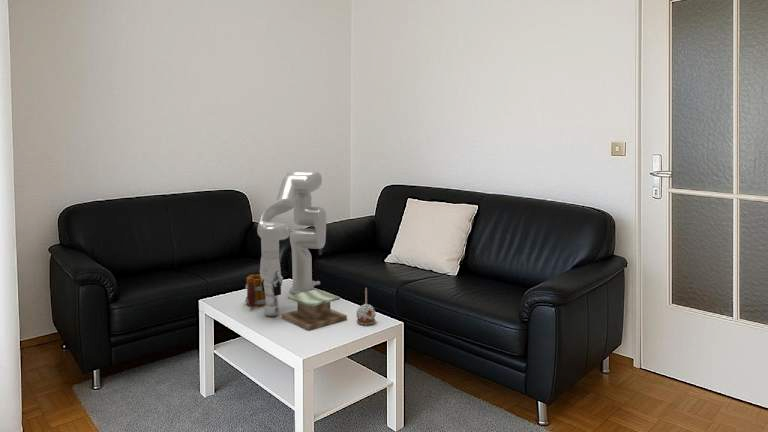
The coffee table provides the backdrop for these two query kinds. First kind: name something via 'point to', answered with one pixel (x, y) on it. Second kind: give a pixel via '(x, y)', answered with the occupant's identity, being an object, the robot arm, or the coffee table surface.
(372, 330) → the coffee table surface
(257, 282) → the mug
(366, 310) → the decorative ornament
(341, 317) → the walnut stand
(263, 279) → the robot arm
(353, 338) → the coffee table surface
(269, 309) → the plastic bottle
